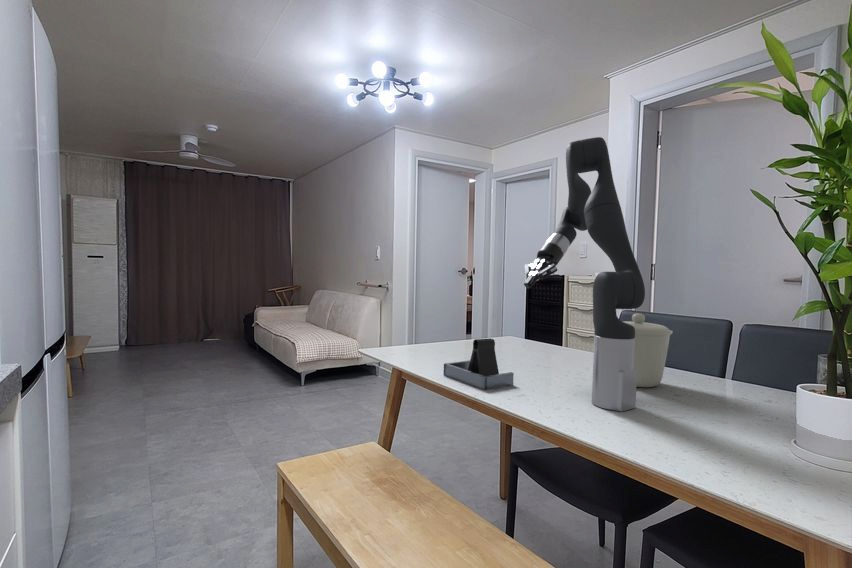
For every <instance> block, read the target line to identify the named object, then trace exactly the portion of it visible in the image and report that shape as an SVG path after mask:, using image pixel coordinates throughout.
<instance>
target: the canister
mask: <svg viewBox="0 0 852 568" xmlns="http://www.w3.org/2000/svg"><path fill="white" fill-rule="evenodd" d="M645 320H646V317H645V315H644V314H643V313H641V312H640V313H637V312H636V313H634V314H632V316H631V321H624V320H623V321H622V322H625V323H627V324H630V325H632V326H633V327H634V328H635V346H634V368H633V369H636V370H637V387H636V388H653V387H654V388H655V387H656V386H659V384H661V382H662V380H663V377H664V372H665V368H666V367H665V366H666V362H667V356H668V350H669V345H670V344H669V343H670V337H671V335H672V334H673V330H670V328H668V327H667V326H665V325H662V324H658V323H650V322H645Z"/></svg>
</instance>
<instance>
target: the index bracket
mask: <svg viewBox="0 0 852 568" xmlns="http://www.w3.org/2000/svg"><path fill="white" fill-rule="evenodd" d="M469 363H470V359H469V360H463V361H461V360H460V361H455V362H446V363H443V376H445V377H448V378H451V379H453V378H454V379H453V380H456V379H457V380H456V381H459V382H462V383H464V384H466V385H469V386H472V387H474V386H475V388H478V389H480V390H483V391H487V390H488V391H489V390H492V389H493V390H494V389H498V388H503V387H504V386H505V387H509V386H508V385H510V386H513V385H514V377H515V376H514V374H515V373H514V372H504V373H499V374H496V375H490V376H483V375H480V374H477V373H474V372H471V371H468V367H469Z"/></svg>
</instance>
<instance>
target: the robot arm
mask: <svg viewBox="0 0 852 568" xmlns="http://www.w3.org/2000/svg"><path fill="white" fill-rule="evenodd" d="M565 166H566V167H565V168H566V178H567V179H566V181H567V185H568V186H567V187H568V197H567V198H568V199H567V206H566V207H565V208H564V209H563V211H562V215H561V217H560V220H559V223H558V224H557V228H556V229H554V232H552V234H551V235H550V236H549V237H548V238H547V240H546V241H545V242H544V243H543V245H542V246H541V247H540V249H539V250H538V251H537V254H536V258H535V259H534V260H533V261H532V263H530V264H529V263H525V264H524V272H525V273H524V274H525V275H526V276H527V278H526V279H525V281H524V282H523V286H524V287H525V288H526V289H531V288H532V287H534V285H535V283H537V281H539V280H545V279H546V278H547V277H550V276H552V274H554V273H556V272H557V271H558V268H557V265H558V264H559V263H560V261H561V260H562V259H563V257H564V256H565V254H566V253H567V251H568V250H569V247H570V246H571V245H572V243H573V242H574V240H575V239H576V238H577V231H580V232H584V231H587V232H588V235H589V236H590V238H591V239H592V241H593V242H594V243H595V244H596V245H597V246H598V247H599V248H600V249H601V250H602V252H604V254H605V255H606V256H607V257H608V258H609V260H610V261H611V264H612V266H613V267H614V271H601V272H599V273H598V274H597V275H596V276H595V278H594V281H593V284H592V321H593V322H592V323H593V328H594V333H593V334H594V340H593V358H592V359H593V362H592V383H591V384H592V385H591V386H592V387H591V389H592V390H591V403H592V404H593V405H594V406H596V407H598V408H603V409H605V410H612V411H618V412H626V411H628V410H632V409H636V407H637V388H638V387H637V370H636V369H633V368H634V346H635V328H634V327H633V326H632V325H630V324H627V323H625V322H623V321H622V320H621V319H620V318H619V317H618V315H617V310H635V309H638V308H640V307H642V305H643V303H644V301H645V299H646V298H645V296H646V288H645V282H644V280H643V276H642V273H641V270H640V268H639V265H638V263H637V259H636V257H635V255H634V252H633V249H632V246H631V243H630V240H629V239H630V238H629V235H628V233H627V232H628V231H627V228H626V224H625V219H624V215H623V211H622V207H621V203H620V200H619V197H618V194H617V189H616V186H615V182H614V178H613V172H612V166H611V160H610V155H609V147H608V144H607V143H606V140H605V138H603V137H602V136H598V137H597V136H596V137H591V138H585V139H579V140H574V141H571V142H569V143H568V144H567V146H566V151H565ZM590 172H597V175H598V176H597V179H596V181H595V184H594V186H593V189H591V187H590V185H589V184H588V183H587V181H585V180H584V179H583V178H582V177H581V176H580V174H585V173H590Z"/></svg>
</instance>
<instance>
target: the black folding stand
mask: <svg viewBox="0 0 852 568" xmlns="http://www.w3.org/2000/svg"><path fill="white" fill-rule="evenodd" d="M495 348H496V341H495V340H494V338H481V339H480V338H478V339H474V340H473V342H472V353H471V356H470V359H469V360H470V363H469V367H468V371H471V372H474V373H477V374H480V375H483V376H490V375H496V374H500V373H499V365H498V360H497V354H496V349H495Z"/></svg>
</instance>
